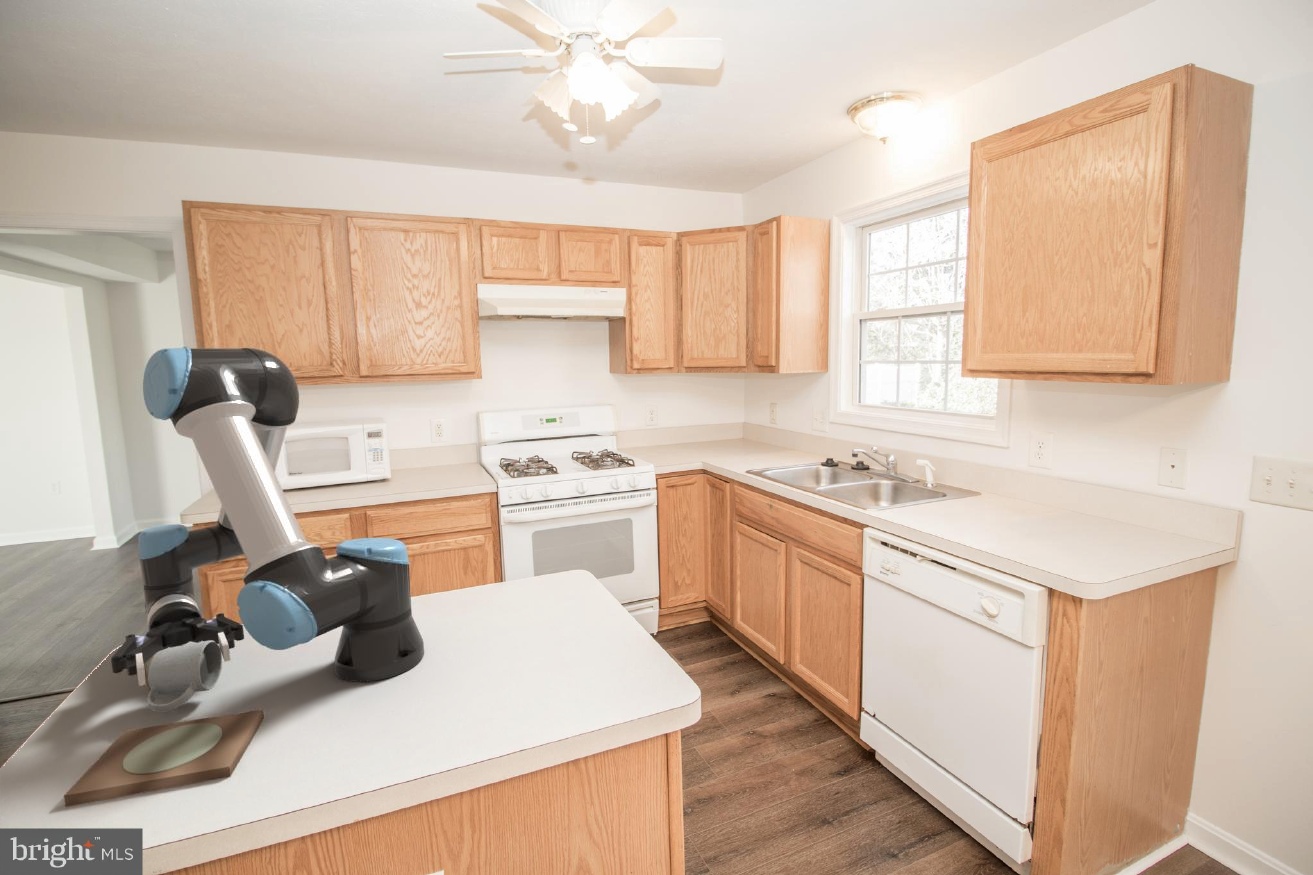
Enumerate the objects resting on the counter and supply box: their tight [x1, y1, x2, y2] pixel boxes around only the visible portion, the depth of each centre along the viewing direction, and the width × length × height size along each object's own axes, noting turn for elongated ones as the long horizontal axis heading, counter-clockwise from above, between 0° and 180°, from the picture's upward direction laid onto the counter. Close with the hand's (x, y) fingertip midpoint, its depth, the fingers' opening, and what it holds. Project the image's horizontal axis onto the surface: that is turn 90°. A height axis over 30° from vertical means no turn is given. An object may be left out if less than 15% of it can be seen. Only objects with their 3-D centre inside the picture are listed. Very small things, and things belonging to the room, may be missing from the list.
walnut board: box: [63, 709, 265, 807], centre depth 85 cm, size 18×14×2 cm
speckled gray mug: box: [144, 640, 223, 713], centre depth 96 cm, size 11×8×8 cm
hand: (185, 664), depth 94 cm, fingers closed on speckled gray mug, 10 cm apart
